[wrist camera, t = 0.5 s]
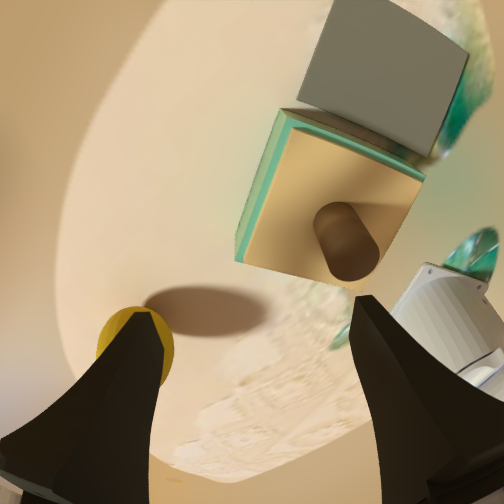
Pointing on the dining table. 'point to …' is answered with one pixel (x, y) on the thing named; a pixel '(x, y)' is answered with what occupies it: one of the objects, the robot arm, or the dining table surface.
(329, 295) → the dining table surface
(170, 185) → the dining table surface
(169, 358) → the lemon
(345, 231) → the lid
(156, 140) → the dining table surface
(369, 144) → the dish
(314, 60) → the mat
